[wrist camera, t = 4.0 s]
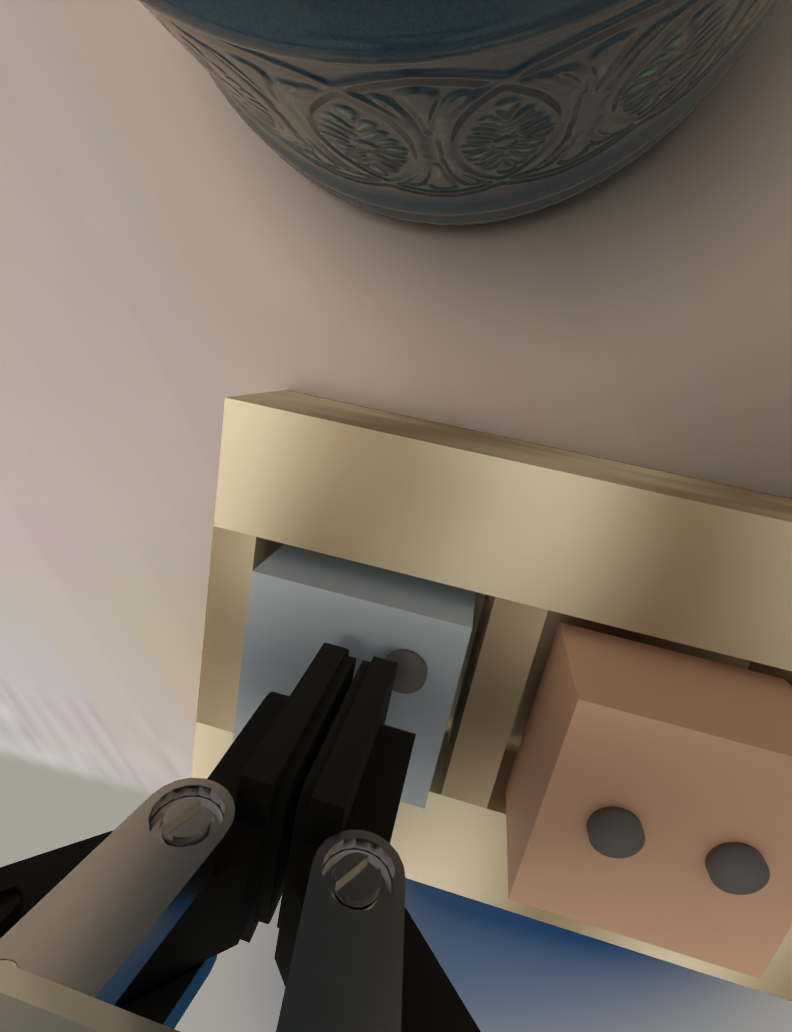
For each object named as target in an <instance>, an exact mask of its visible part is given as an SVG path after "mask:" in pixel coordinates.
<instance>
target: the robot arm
mask: <svg viewBox="0 0 792 1032" xmlns="http://www.w3.org/2000/svg"><path fill="white" fill-rule="evenodd" d="M355 664H356V658H354V657H351V656H349V649H347V648H344V647H340V646H337V645H333V644H329V643H326V642H325V643H324V644H323V645H322V647H321V648H320V650H319V651H318V653H317V654H316V656H315V657H314V659H313V661H312V662H311V664H310V665H309V667H308V668H307V670H306V671H305V673H304V675H303V676H302V678H301V679H300V681H299V682H298V684H297V685H296V687H295V689H294V690H293V692H292V693H291V695H290V696H287V695H283V694H280V693H277V692H273V691H272V692H270V693H269V694H268V695H267V696H266V697H265V698H264V700H263V701H262V703H261V704H260V705H259V707H258V708H257V710H256V711H255V712H254V714H253V715H252V717H251V718H250V719H249V721H248V722H247V724H246V725H245V726H244V728H243V729H242V731H241V732H240V733H239V735H238V736H237V738H236V739H235V740H234V742H233V743H232V745H231V746H230V747H229V749H228V750H227V752H226V753H225V755H224V756H223V757H222V759H221V760H220V762H219V763H218V764H217V766H216V767H215V769H214V770H213V771H212V773H211V774H210V776H209V777H208V778H207V779H205V778H187V779H182V780H177V781H174V782H172V783H170V784H167V785H165V786H163V787H162V788H160V789H159V790H158V791H156V792H155V793H154V794H152V795H151V796H150V797H149V798H148V799H147V800H146V801H145V802H144V803H143V804H142V805H140V806H139V807H138V808H137V809H136V810H135V811H134V812H133V813H132V814H131V815H130V816H129V817H128V818H127V819H126V820H125V821H124V822H123V823H122V824H120V825H119V826H118V827H117V828H116V829H115V830H113V831H110V832H107V833H104V834H101V835H98V836H95V837H92V838H89V839H86V840H83V841H80V842H77V843H74V844H71V845H68V846H65V847H62V848H58V849H55V850H52V851H49V852H46V853H43V854H40V855H37V856H34V857H31V858H28V859H25V860H22V861H19V862H16V863H13V864H10V865H7V866H4V867H1V868H0V1032H179V1031H177V1030H174V1028H175V1027H176V1025H177V1024H178V1022H179V1021H180V1019H181V1017H182V1016H183V1014H184V1013H185V1011H186V1010H187V1008H188V1006H189V1005H190V1003H191V1002H192V1000H193V998H194V997H195V996H196V994H197V992H198V991H199V989H200V988H201V986H202V985H203V983H204V981H205V980H206V978H207V977H208V975H209V974H210V972H211V970H212V968H213V965H214V963H215V961H216V959H217V954H219V953H221V952H223V951H225V950H227V949H229V948H231V947H233V946H235V945H237V944H238V942H239V940H240V939H241V940H244V941H247V942H250V940H251V938H252V936H253V933H254V931H255V929H256V926H257V924H258V922H259V921H260V922H263V923H266V924H269V923H270V921H271V919H272V917H273V914H274V912H275V909H276V907H277V905H278V902H279V900H280V897H281V895H282V900H281V906H280V912H279V918H278V924H277V927H278V928H279V934H278V940H277V946H276V952H275V960H276V963H277V966H278V968H279V971H280V974H281V976H282V979H283V982H284V984H285V987H286V988H285V993H284V998H283V1002H282V1007H281V1011H280V1016H279V1021H278V1025H277V1030H276V1032H480V1030H479V1028H478V1027H477V1025H476V1023H475V1022H474V1020H473V1018H472V1017H471V1015H470V1014H469V1012H468V1010H467V1008H466V1007H465V1005H464V1004H463V1002H462V1000H461V999H460V997H459V995H458V994H457V992H456V990H455V989H454V987H453V986H452V984H451V982H450V980H449V979H448V977H447V976H446V974H445V972H444V971H443V969H442V967H441V966H440V964H439V962H438V961H437V959H436V957H435V956H434V954H433V952H432V951H431V949H430V947H429V946H428V944H427V942H426V941H425V939H424V938H423V936H422V934H421V933H420V931H419V929H418V928H417V926H416V924H415V923H414V921H413V919H412V918H411V916H410V914H409V913H408V911H407V909H406V908H405V886H406V884H405V883H406V879H405V871H404V865H403V863H402V861H401V859H400V856H399V854H398V853H397V851H396V850H395V849H394V848H393V847H392V846H391V844H390V842H391V837H392V833H393V829H394V825H395V820H396V816H397V812H398V808H399V804H400V799H401V795H402V791H403V787H404V783H405V778H406V774H407V770H408V766H409V761H410V757H411V753H412V749H413V745H414V740H415V736H416V734H415V733H411V732H408V731H404V730H401V729H398V728H394V727H391V726H388V725H385V721H386V716H387V712H388V707H389V703H390V698H391V694H392V689H393V685H394V680H395V676H396V671H397V666H398V663H397V662H394V661H390V660H386V659H383V658H379V657H376V656H374V657H373V659H372V661H371V662H369V661H365V660H363V661H362V662H361V665H360V667H359V669H358V671H357V673H356V675H355V677H354V679H353V674H354V669H355ZM352 680H353V681H352ZM282 893H283V894H282Z"/></svg>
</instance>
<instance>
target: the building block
mask: <svg viewBox="0 0 792 1032" xmlns="http://www.w3.org/2000/svg"><path fill="white" fill-rule="evenodd" d="M474 604H475V592H474V591H470V590H466V589H462V588H458V587H454V586H450V585H446V584H443V583H439V582H435V581H431V580H427V579H423V578H419V577H415V576H411V575H407V574H403V573H399V572H395V571H391V570H387V569H383V568H379V567H375V566H371V565H367V564H363V563H359V562H355V561H351V560H347V559H343V558H339V557H335V556H331V555H327V554H323V553H319V552H315V551H311V550H307V549H303V548H299V547H295V546H291V545H287V544H284V545H282V546H281V547H280V548H279V549H278V550H276V551H275V552H274V553H273V554H272V555H271V556H269V557H268V558H267V559H266V560H265V561H263V562H262V563H261V564H260V565H259V566H258V567H256V568H255V569H254V570H253V571H252V577H251V586H250V595H249V603H248V612H247V621H246V629H245V638H244V647H243V655H242V664H241V672H240V681H239V690H238V698H237V707H236V716H235V724H234V733H233V742H234V740H235V739H236V738H237V736H238V735H239V733H240V732H241V731H242V729H243V728H244V726H245V725H246V724H247V722H248V721H249V719H250V718H251V717H252V715H253V714H254V712H255V711H256V710H257V708H258V707H259V705H260V704H261V703H262V701H263V700H264V698H265V697H266V696H267V695H268V694H269V693H270V692H272V691H273V692H277V693H280V694H283V695H287V696H290V695H291V693H292V692H293V690H294V689H295V687H296V685H297V684H298V682H299V681H300V679H301V678H302V676H303V675H304V673H305V671H306V670H307V668H308V667H309V665H310V664H311V662H312V661H313V659H314V657H315V656H316V654H317V653H318V651H319V650H320V648H321V647H322V645H323V644H324V643H325V642H326V643H329V644H333V645H337V646H340V647H344V648H347V649H349V656H351V657H354V658H356V664H355V669H354V674H353V679H354V677H355V675H356V673H357V671H358V669H359V667H360V665H361V662H362V661H363V660H365V661H369V662H371V661H372V659H373V657H374V656H376V657H379V658H383V659H386V660H390V661H394V662H397V663H398V666H397V671H396V676H395V680H394V685H393V689H392V694H391V698H390V703H389V707H388V712H387V716H386V721H385V725H388V726H391V727H394V728H398V729H401V730H404V731H408V732H411V733H415V734H416V736H415V740H414V745H413V749H412V753H411V757H410V761H409V766H408V770H407V774H406V778H405V783H404V787H403V791H402V795H401V799H400V801H401V802H404V803H407V804H410V805H414V806H417V807H420V808H424V809H425V805H426V801H427V797H428V794H429V790H430V786H431V782H432V779H433V775H434V771H435V767H436V763H437V760H438V756H439V752H440V748H441V745H442V741H443V737H444V733H445V730H446V726H447V722H448V718H449V714H450V711H451V707H452V703H453V699H454V696H455V692H456V688H457V684H458V680H459V677H460V673H461V669H462V665H463V662H464V658H465V654H466V650H467V647H468V643H469V639H470V635H471V631H472V627H473V615H474ZM352 681H353V680H352ZM233 742H232V743H233Z"/></svg>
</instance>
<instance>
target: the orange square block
mask: <svg viewBox="0 0 792 1032" xmlns="http://www.w3.org/2000/svg"><path fill="white" fill-rule="evenodd" d="M506 825H507V866H508V899H510V900H513V901H516V902H519V903H522V904H526V905H529V906H532V907H535V908H538V909H541V910H544V911H548V912H551V913H554V914H557V915H560V916H563V917H566V918H570V919H573V920H576V921H579V922H582V923H585V924H589V925H592V926H595V927H598V928H601V929H604V930H607V931H611V932H614V933H617V934H620V935H623V936H626V937H629V938H633V939H636V940H639V941H642V942H645V943H648V944H652V945H655V946H658V947H661V948H664V949H667V950H670V951H674V952H677V953H680V954H683V955H686V956H689V957H692V958H696V959H699V960H702V961H705V962H708V963H711V964H715V965H718V966H721V967H724V968H727V969H730V970H733V971H737V972H740V973H743V974H746V975H749V976H752V977H755V978H759V979H760V978H761V977H762V975H763V973H764V972H765V970H766V968H767V967H768V965H769V963H770V961H771V960H772V958H773V956H774V955H775V953H776V951H777V950H778V948H779V946H780V945H781V943H782V941H783V939H784V938H785V936H786V934H787V933H788V931H789V929H790V928H791V926H792V686H791V685H790V684H789V683H788V682H787V681H786V680H785V679H782V678H778V677H774V676H770V675H766V674H762V673H758V672H754V671H751V670H747V669H743V668H739V667H735V666H731V665H727V664H723V663H719V662H715V661H711V660H707V659H703V658H699V657H695V656H691V655H687V654H683V653H680V652H676V651H672V650H668V649H664V648H660V647H656V646H652V645H648V644H644V643H640V642H636V641H632V640H628V639H624V638H620V637H616V636H612V635H608V634H605V633H601V632H597V631H593V630H589V629H585V628H581V627H577V626H573V625H569V624H565V623H561V622H559V624H558V628H557V631H556V634H555V637H554V640H553V643H552V646H551V649H550V652H549V656H548V659H547V662H546V665H545V668H544V671H543V674H542V677H541V681H540V684H539V687H538V690H537V693H536V696H535V699H534V702H533V705H532V709H531V712H530V715H529V718H528V721H527V724H526V727H525V730H524V733H523V737H522V740H521V743H520V746H519V749H518V752H517V755H516V758H515V762H514V765H513V768H512V771H511V774H510V777H509V780H508V783H507V786H506Z"/></svg>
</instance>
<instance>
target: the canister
mask: <svg viewBox="0 0 792 1032" xmlns="http://www.w3.org/2000/svg"><path fill="white" fill-rule="evenodd" d="M138 1H140V2H141V3H142V4H143V5H144V6H145V7H146V8H147V9H148V10H149V11H150V12H151V13H152V15H153V16H154V17H155V18H156V19H157V20H158V21H159V22H160V23H161V24H162V25H163V26H164V27H165V28H166V29H167V30H168V31H169V32H170V33H171V34H172V35H173V36H174V37H175V38H176V39H177V40H178V41H179V42H180V43H181V44H182V45H183V46H184V47H185V48H186V49H187V50H188V51H189V52H190V53H191V54H192V55H193V56H194V57H195V58H196V59H197V61H198V62H199V63H200V64H201V65H202V66H203V67H204V68H205V69H206V70H207V71H208V72H209V74H210V75H211V77H212V79H213V80H214V82H215V83H216V85H217V87H218V88H219V89H220V91H221V92H222V93H223V95H224V96H225V97H226V99H227V100H228V102H229V103H230V104H231V106H232V107H233V108H234V109H235V111H236V112H237V113H238V114H239V115H240V116H241V118H242V119H243V120H244V121H245V122H246V123H247V125H248V126H249V127H250V128H251V129H252V130H253V131H254V132H255V133H256V134H257V135H258V136H259V137H260V138H261V139H262V140H263V141H264V142H265V143H266V144H267V145H269V146H270V147H271V148H272V149H273V150H274V151H275V152H276V153H277V154H278V155H279V156H280V157H281V158H283V159H284V160H285V161H286V162H287V163H289V164H290V165H291V166H292V167H293V168H294V169H296V170H297V171H298V172H299V173H301V174H302V175H304V176H305V177H306V178H308V179H309V180H311V181H312V182H313V183H315V184H316V185H318V186H320V187H321V188H323V189H325V190H326V191H328V192H330V193H331V194H333V195H335V196H337V197H339V198H341V199H343V200H345V201H347V202H349V203H351V204H353V205H356V206H358V207H361V208H364V209H366V210H369V211H372V212H374V213H377V214H381V215H385V216H388V217H392V218H396V219H401V220H406V221H412V222H417V223H425V224H436V225H476V224H486V223H492V222H498V221H504V220H508V219H512V218H516V217H520V216H524V215H527V214H530V213H533V212H536V211H539V210H542V209H544V208H547V207H549V206H552V205H554V204H556V203H559V202H561V201H563V200H566V199H568V198H570V197H573V196H575V195H577V194H579V193H581V192H583V191H585V190H587V189H589V188H590V187H592V186H594V185H596V184H598V183H600V182H602V181H603V180H605V179H606V178H608V177H610V176H611V175H613V174H614V173H616V172H618V171H619V170H621V169H623V168H624V167H625V166H627V165H628V164H630V163H631V162H632V161H634V160H635V159H637V158H638V157H639V156H641V155H642V154H643V153H645V152H646V151H648V150H649V149H650V148H651V147H653V146H654V145H655V144H656V143H657V142H659V141H660V140H661V139H662V138H663V137H665V136H666V135H667V134H668V133H669V132H671V131H672V130H673V129H674V128H675V127H676V126H677V125H678V124H679V123H680V122H681V121H682V120H683V119H684V118H685V117H686V116H688V115H689V114H690V113H691V112H692V111H693V110H694V109H695V108H696V107H697V106H698V104H699V103H700V102H701V101H702V100H703V99H704V98H705V97H706V96H707V95H708V94H709V93H710V92H711V90H712V89H713V88H714V87H715V86H716V85H717V84H718V83H719V81H720V80H721V79H722V78H723V76H724V75H725V74H726V73H727V72H728V70H729V69H730V68H731V67H732V65H733V64H734V63H735V62H736V61H737V59H738V58H739V57H740V56H741V55H742V53H743V52H744V51H745V50H746V48H747V47H748V46H749V45H750V44H751V42H752V41H753V40H754V39H755V37H756V36H757V35H758V33H759V32H760V31H761V29H762V28H763V27H764V25H765V24H766V22H767V21H768V20H769V18H770V17H771V15H772V14H773V13H774V11H775V10H776V9H777V7H778V6H779V4H780V3H781V1H782V0H138Z"/></svg>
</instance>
